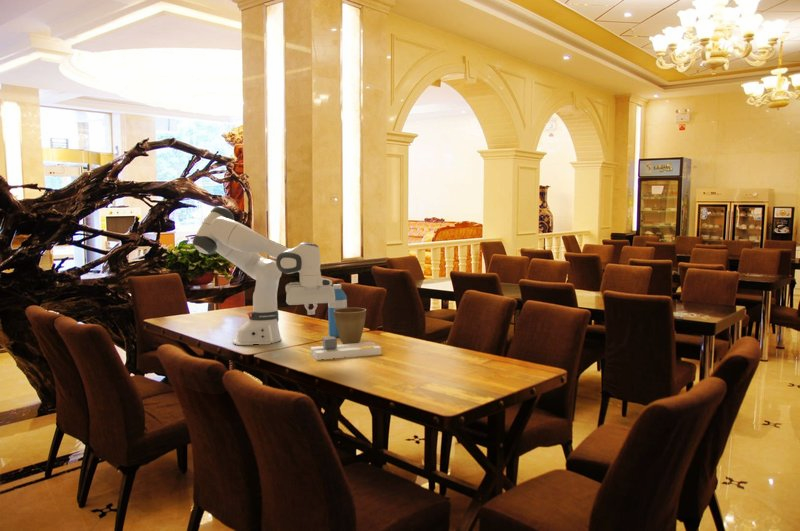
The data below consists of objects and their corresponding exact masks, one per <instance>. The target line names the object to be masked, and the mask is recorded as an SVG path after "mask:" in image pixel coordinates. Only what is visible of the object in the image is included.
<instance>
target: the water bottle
mask: <svg viewBox="0 0 800 531" xmlns="http://www.w3.org/2000/svg"><path fill="white" fill-rule="evenodd" d="M332 287H333V288H334V291H335V301H334V302H333V303H327V308H328V309H327V312H328V314H327V316H328V317H327V318H328V319H327V320H328V321H327V322H328V337H335V338H338V337H339V338H340V336H339V333H338V329H337V326H336V322H335V317H334V310H336V309H341V308H348V303H347V302H348V299H347V298H348V296H347V294H346V292H345V291H344V290H343V288H342V284H341V283H337V284H335V283H334V284H333V283H332Z"/></svg>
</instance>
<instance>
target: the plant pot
mask: <svg viewBox="0 0 800 531" xmlns="http://www.w3.org/2000/svg"><path fill="white" fill-rule="evenodd" d="M366 316H367V309H366V308H364V307H363V308H362V307H347V308H341V309H336V310H334V317H335V322H336V326H337V329H338V333H339V336H340V337H339V339H340V341H341V343H342V344H352V343H361V342H360V341H361V339H362V336H363V332H364V328H365V322H366Z"/></svg>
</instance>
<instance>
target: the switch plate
mask: <svg viewBox="0 0 800 531" xmlns="http://www.w3.org/2000/svg"><path fill="white" fill-rule="evenodd" d="M310 355H311V356H312V357H313V358H314V359H315V360H316V361H322V360H321V359H324V360H332V359H333V358H335V359H344V357H346V358H354V357H367V356H377V355H382V346H380V345H377V344H376V343H375V342H374V341H367V342H365V341H364V342H359V343H352V344H343V343H342V344H337V348H335V349H327V350H324V348H323V345H321V346H310Z"/></svg>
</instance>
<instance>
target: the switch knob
mask: <svg viewBox="0 0 800 531" xmlns="http://www.w3.org/2000/svg"><path fill="white" fill-rule="evenodd" d="M321 341H322V342H321V343H322V346H323V348H324V350H327V349H335V348H337V345H338V343H337V342H338V339H337V337H333V336H324V337H322V340H321Z"/></svg>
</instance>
